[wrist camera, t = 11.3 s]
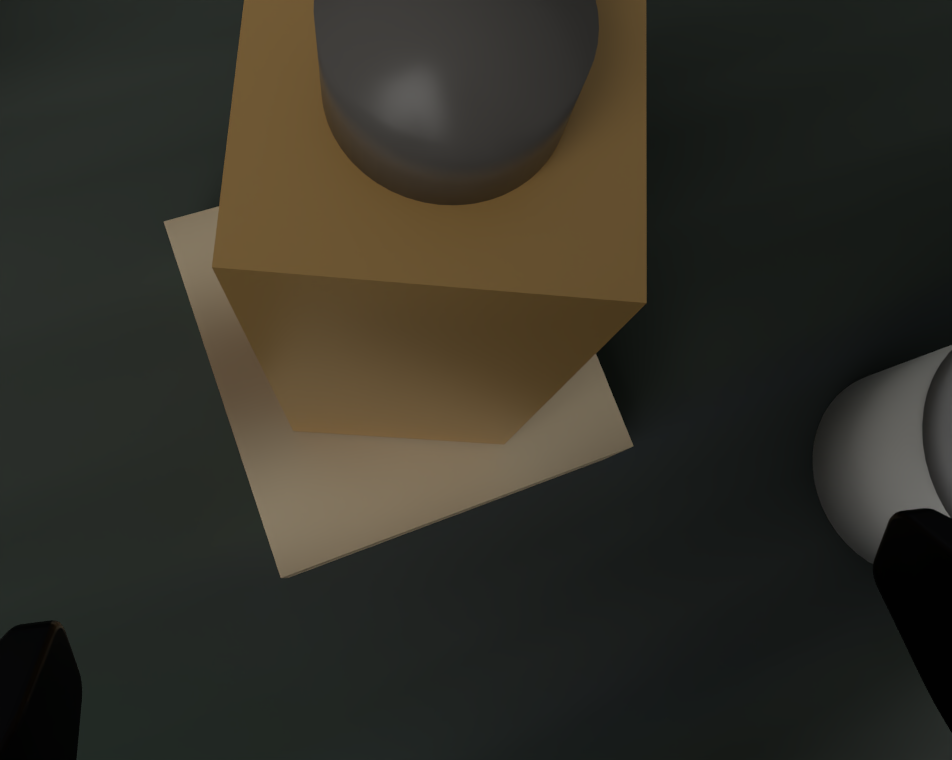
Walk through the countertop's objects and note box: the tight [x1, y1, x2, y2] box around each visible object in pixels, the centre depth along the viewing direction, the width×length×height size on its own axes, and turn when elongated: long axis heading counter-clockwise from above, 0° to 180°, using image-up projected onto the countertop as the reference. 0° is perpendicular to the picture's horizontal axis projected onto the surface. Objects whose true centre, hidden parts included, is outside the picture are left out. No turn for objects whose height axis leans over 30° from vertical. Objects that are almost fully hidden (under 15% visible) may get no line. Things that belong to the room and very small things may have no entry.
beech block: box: [164, 207, 633, 578], centre depth 23 cm, size 9×9×3 cm
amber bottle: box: [212, 0, 647, 445], centre depth 15 cm, size 5×5×12 cm
